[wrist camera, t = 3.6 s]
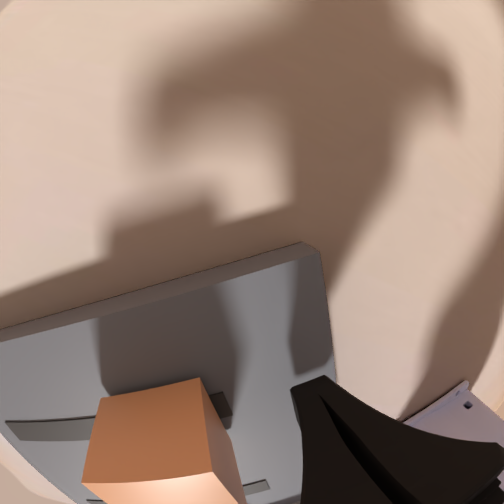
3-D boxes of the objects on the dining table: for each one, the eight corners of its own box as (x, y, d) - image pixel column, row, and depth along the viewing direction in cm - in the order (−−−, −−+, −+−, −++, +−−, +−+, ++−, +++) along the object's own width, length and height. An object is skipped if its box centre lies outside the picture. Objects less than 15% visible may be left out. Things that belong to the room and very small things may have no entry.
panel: (302, 241, 11) (350, 271, 8) (335, 503, 19) (348, 529, 15) (-41, 341, 8) (-73, 375, 5) (158, 540, 16) (160, 566, 13)
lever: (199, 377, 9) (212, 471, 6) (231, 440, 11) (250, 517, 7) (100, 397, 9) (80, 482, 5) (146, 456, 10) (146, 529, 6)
